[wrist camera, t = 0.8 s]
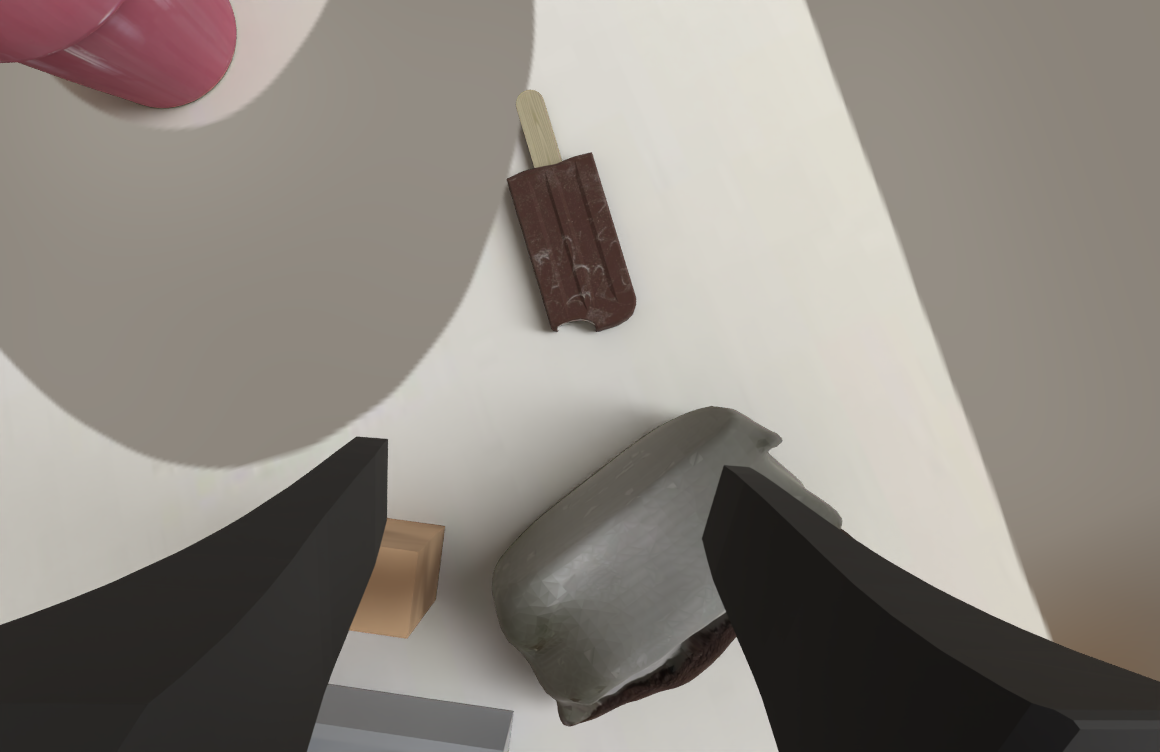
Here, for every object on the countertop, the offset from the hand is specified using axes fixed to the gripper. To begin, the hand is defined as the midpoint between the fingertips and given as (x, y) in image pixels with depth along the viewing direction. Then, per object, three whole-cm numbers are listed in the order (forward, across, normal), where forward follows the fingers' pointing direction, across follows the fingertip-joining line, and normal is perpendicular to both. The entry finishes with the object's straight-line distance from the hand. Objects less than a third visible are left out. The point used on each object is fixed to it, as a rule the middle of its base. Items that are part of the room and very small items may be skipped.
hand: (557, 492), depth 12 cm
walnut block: (+17, +6, +18) cm, 25 cm away
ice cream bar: (+25, -2, -3) cm, 25 cm away
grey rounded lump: (+16, -9, +14) cm, 23 cm away
